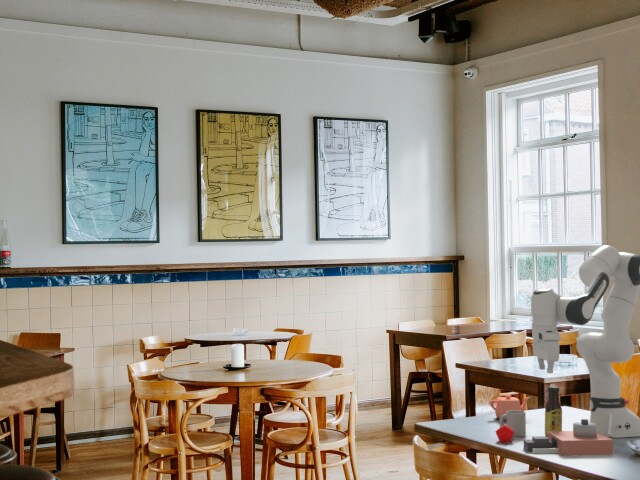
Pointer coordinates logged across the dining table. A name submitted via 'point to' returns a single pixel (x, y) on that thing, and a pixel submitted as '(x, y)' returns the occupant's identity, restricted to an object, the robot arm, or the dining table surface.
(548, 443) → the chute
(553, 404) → the sauce bottle
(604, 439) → the pink box with knob
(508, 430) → the red pentagonal block
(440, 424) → the dining table surface
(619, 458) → the dining table surface
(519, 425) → the cup
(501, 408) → the teapot
